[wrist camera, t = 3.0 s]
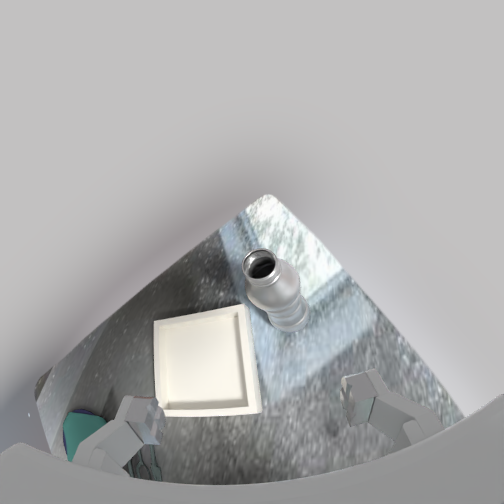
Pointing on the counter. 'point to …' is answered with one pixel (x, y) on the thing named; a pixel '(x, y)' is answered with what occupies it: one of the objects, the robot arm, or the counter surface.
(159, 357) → the ceramic dish
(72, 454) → the cutlery set
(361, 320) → the counter surface
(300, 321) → the plastic bottle
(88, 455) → the robot arm
